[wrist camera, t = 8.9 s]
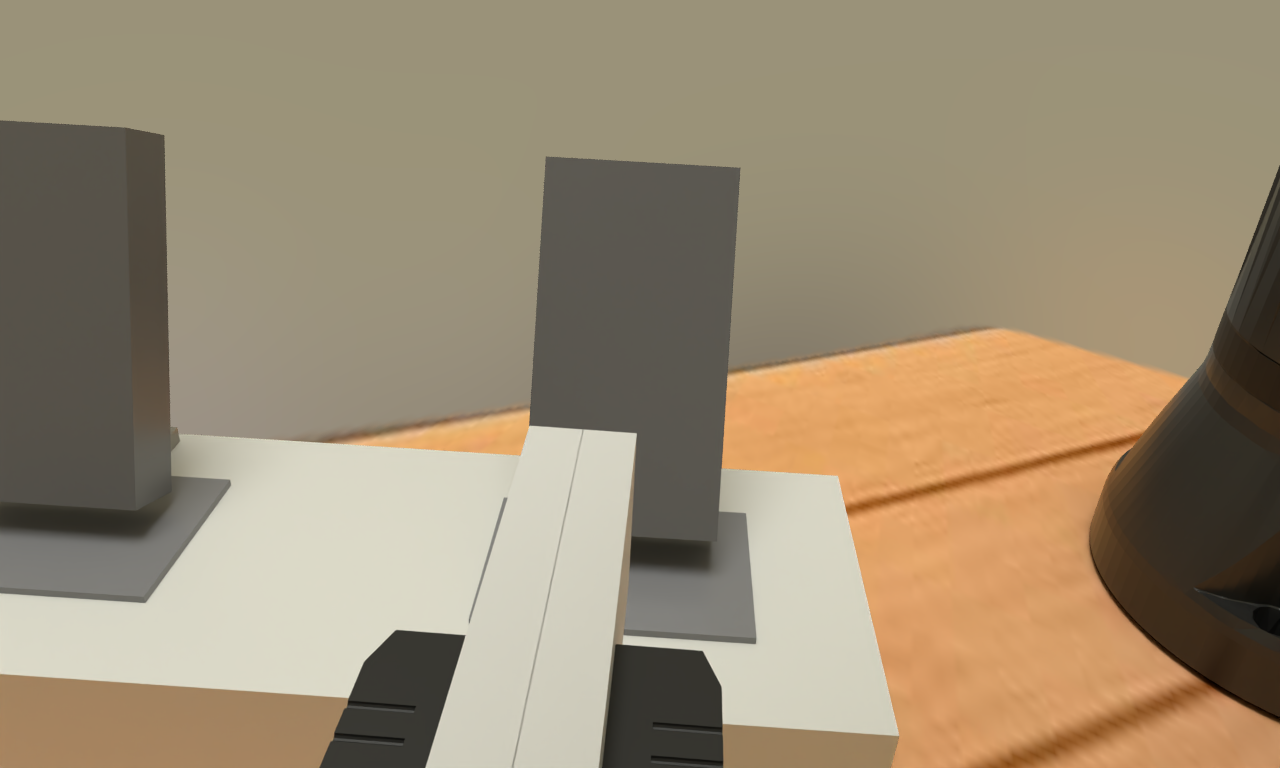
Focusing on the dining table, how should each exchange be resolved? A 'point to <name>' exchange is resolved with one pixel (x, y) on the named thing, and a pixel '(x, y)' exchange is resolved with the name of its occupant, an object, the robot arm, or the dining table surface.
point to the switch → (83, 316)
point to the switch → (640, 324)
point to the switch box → (393, 607)
